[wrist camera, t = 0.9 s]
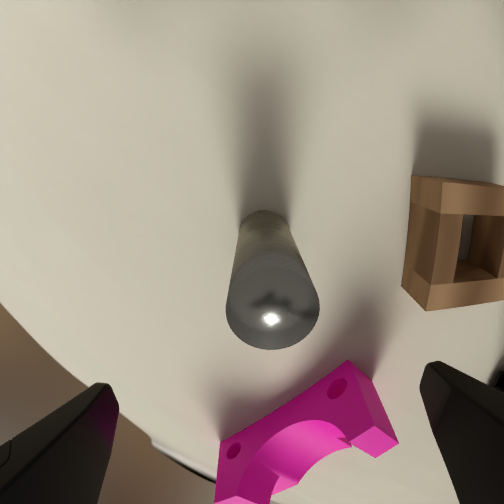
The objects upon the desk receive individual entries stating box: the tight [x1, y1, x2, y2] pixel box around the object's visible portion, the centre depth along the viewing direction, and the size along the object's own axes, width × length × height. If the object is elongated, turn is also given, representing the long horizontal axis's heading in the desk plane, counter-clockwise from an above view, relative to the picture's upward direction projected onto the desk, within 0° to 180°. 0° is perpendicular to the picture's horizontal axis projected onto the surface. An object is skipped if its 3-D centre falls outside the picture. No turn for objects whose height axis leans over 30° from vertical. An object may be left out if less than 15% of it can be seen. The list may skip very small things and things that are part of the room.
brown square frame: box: [401, 175, 504, 311], centre depth 18 cm, size 8×8×4 cm
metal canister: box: [226, 211, 320, 350], centre depth 15 cm, size 3×3×10 cm
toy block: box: [214, 360, 399, 504], centre depth 22 cm, size 15×6×8 cm, turn 135°
